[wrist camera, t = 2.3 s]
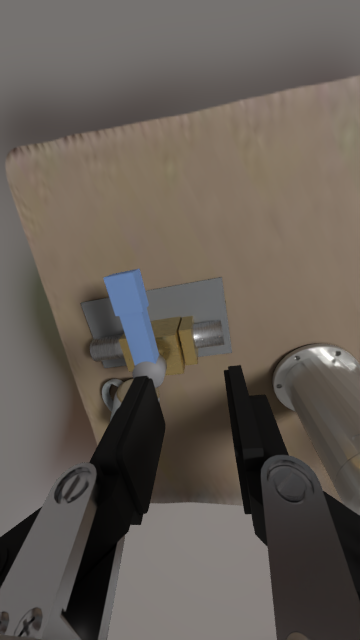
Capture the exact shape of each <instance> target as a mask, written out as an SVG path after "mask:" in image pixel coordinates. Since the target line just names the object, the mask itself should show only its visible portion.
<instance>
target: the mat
mask: <svg viewBox="0 0 360 640" xmlns="http://www.w3.org/2000/svg"><path fill="white" fill-rule="evenodd" d="M145 292H146V296H147V299H148V303H149V306H148V307H147V311H148V315H149V318H150V321H153V320H160V319H166V318H172V317H179V316H181V319H182V317H187V316H193V320H194V324H197V323H204V322H211V321H218V320H221V324H222V330H223V337H224V344H225V345H220V346H212V347H204V348H198V357H200V356H209V355H217V354H225V353H232V348H231V341H230V334H229V327H228V319H227V312H226V305H225V298H224V290H223V283H222V277H219V278H214V279H208V280H203V281H197V282H192V283H186V284H181V285H175V286H170V287H164V288H159V289H153V290H148V291H145ZM81 306H82V309H83V311H84V314H85V317H86V319H87V322H88V325H89V328H90V330H91V333H92V336H93V338H94V339H96V338H103V337H109V336H116V335H123V334H124V333H125V332H124V329H123V326H122V323H121V320H120V317H119V316H115V313H114V310H113V307H112V303H111V300H110V297H109V298H104V299H98V300H93V301H87V302H82V303H81ZM102 363H103V365H104V368H109V367H118V366H126V365H127V364H126V361H125V358H118V359H110V360H102Z"/></svg>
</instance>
